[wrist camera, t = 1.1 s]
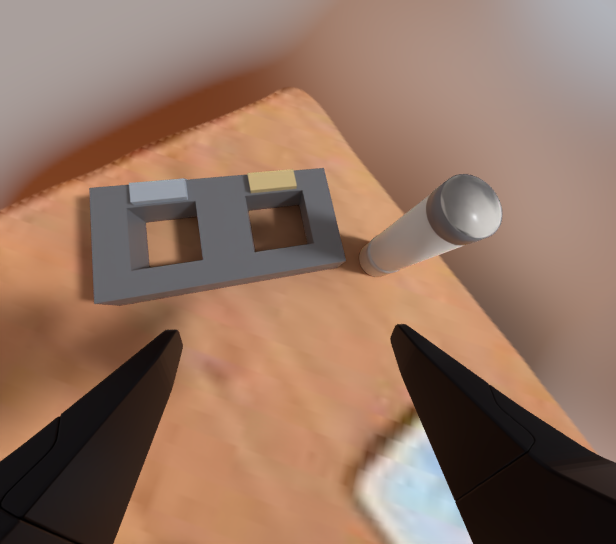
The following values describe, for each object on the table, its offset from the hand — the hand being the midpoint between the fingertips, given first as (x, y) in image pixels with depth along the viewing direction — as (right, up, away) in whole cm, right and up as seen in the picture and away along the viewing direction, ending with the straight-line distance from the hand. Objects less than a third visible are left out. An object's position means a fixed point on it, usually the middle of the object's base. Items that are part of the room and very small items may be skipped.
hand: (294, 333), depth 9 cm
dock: (-7, +6, +14) cm, 17 cm away
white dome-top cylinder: (+8, +4, +16) cm, 18 cm away
